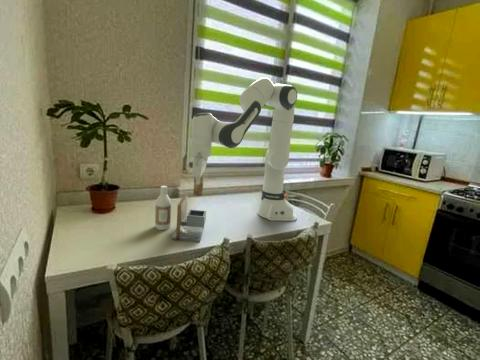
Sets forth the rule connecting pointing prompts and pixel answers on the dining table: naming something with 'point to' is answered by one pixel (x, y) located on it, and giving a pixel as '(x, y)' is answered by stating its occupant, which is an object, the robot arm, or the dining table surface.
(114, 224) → the dining table surface
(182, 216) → the cup bracket
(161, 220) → the bath foam
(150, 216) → the dining table surface
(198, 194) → the oak rail post
